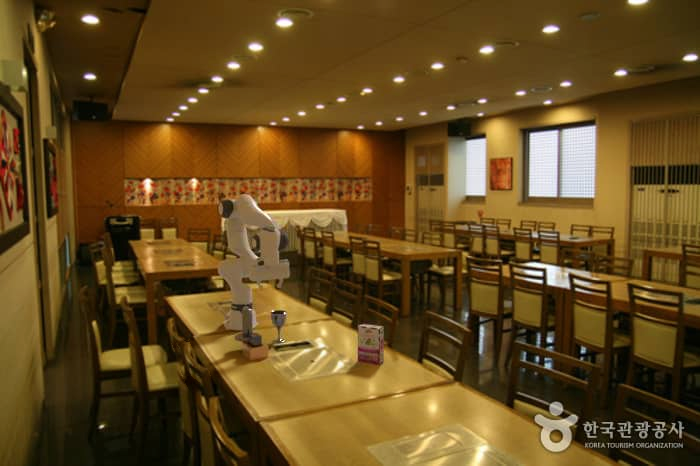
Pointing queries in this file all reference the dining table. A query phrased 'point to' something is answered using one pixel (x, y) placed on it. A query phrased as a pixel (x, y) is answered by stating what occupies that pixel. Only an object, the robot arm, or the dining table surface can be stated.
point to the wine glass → (278, 323)
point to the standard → (248, 351)
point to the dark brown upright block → (255, 340)
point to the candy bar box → (371, 343)
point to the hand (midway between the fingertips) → (270, 288)
